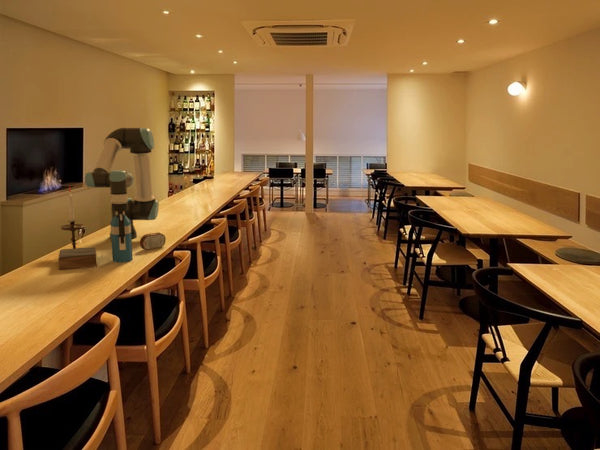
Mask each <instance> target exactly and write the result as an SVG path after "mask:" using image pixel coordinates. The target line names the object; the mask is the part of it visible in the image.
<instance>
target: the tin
mask: <svg viewBox="0 0 600 450" xmlns="http://www.w3.org/2000/svg"><path fill="white" fill-rule="evenodd" d="M165 244H166V236H165V234H163V233H161V232H153V233H152V232H151V233H147V234H144V235H142V236H141V238H140V240H139V246H140V247H141V249H143V250H146V251H150V250H154V249H160V248H162V247H163V246H165Z"/></svg>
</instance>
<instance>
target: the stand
mask: <svg viewBox="0 0 600 450" xmlns="http://www.w3.org/2000/svg"><path fill="white" fill-rule="evenodd" d="M96 250H97V249H96V247H95V246H91V247H89V246H88V247H79V248H77V247H76V248H75V249H73V248H63V249H60V250H59V253H58V259H57V260H58V270H59V271H65V270H66V271H67V270H76V269H78V268H79V269H88V268H98V263H97V260H98V259H97V252H96Z"/></svg>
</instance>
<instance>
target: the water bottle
mask: <svg viewBox="0 0 600 450" xmlns="http://www.w3.org/2000/svg"><path fill="white" fill-rule="evenodd" d="M115 213H116V215H118V211H115ZM116 215H115V216H114V218H113V219H112V218H111V221H110V223H109V224H110V232H111V239H110V241H111V252H112V253H111V254H112V255H111V256H112V262H114V263H118V264H119V263H121V264H122V263H128V262H131V261H132V260H133V257H134V256H133V243H132V240H133V239H132V238H131V221H130V220H129V219H128V218H127V216H126V215H125V212H124V211H123V215H125V218H124V227H125V245H126V250H120V245H119V237H118V236H119V220H118V217H117V218H116Z"/></svg>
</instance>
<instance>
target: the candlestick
mask: <svg viewBox="0 0 600 450" xmlns="http://www.w3.org/2000/svg"><path fill="white" fill-rule="evenodd" d="M68 187H69V188H68V192H69V194H68V196H67V197H68V210H69V220H68V221H67V222H69V224H64V225H61V226H60V229H61V231H70V232H71V238H70V241H71V245H72V249H75V248H77V245H78V243H77V238H76V234H75V232H76V231H78V230H83V229H85V224H81V223H76V220H75V215H74V213H75V212H74V200H73V195H72V191H71V187H70V186H68Z"/></svg>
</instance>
